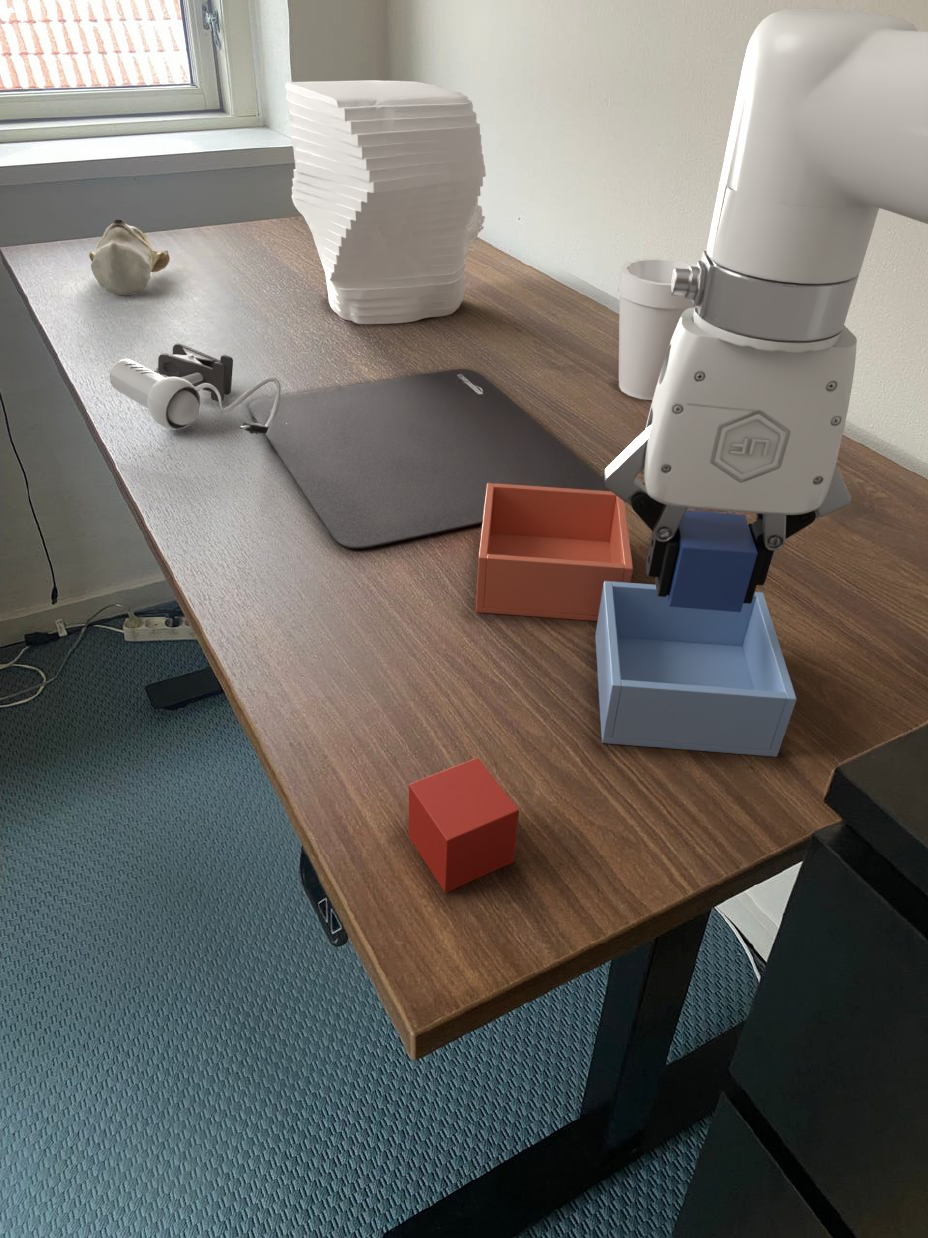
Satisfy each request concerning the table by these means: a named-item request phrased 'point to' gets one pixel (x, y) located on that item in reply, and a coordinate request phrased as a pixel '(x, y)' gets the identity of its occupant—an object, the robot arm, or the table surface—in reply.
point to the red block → (462, 823)
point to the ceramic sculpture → (125, 259)
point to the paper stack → (388, 193)
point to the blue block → (712, 562)
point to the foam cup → (646, 322)
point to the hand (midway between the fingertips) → (701, 585)
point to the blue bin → (690, 674)
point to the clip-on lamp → (183, 386)
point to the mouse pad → (412, 453)
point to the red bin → (550, 551)
